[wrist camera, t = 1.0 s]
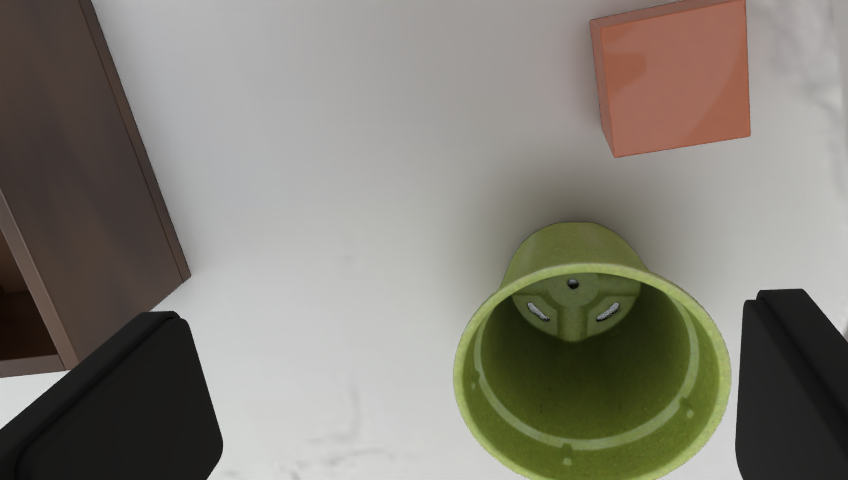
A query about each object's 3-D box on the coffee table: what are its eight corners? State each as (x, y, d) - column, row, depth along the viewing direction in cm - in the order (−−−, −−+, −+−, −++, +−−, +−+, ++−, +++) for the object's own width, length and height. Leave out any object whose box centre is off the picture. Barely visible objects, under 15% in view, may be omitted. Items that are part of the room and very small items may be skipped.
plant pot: (725, 274, 29) (796, 385, 21) (578, 399, 33) (591, 534, 25) (569, 142, 28) (581, 206, 20) (435, 286, 31) (400, 389, 24)
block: (589, 20, 26) (599, 27, 22) (710, -6, 25) (746, -3, 21) (602, 131, 27) (613, 158, 23) (717, 111, 26) (751, 136, 22)
